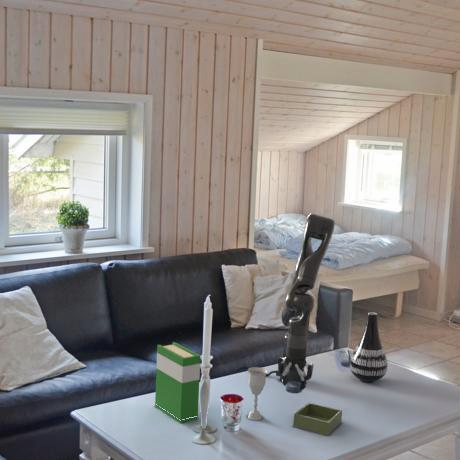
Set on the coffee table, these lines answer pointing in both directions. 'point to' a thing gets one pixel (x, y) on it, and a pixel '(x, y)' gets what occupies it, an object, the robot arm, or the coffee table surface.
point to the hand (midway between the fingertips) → (293, 387)
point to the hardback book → (177, 381)
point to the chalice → (256, 388)
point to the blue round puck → (293, 387)
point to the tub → (317, 418)
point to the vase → (369, 354)
